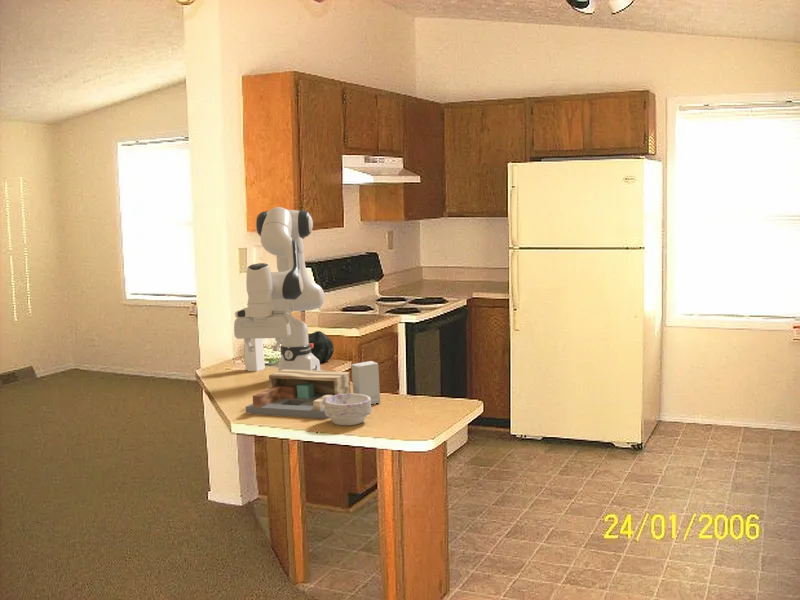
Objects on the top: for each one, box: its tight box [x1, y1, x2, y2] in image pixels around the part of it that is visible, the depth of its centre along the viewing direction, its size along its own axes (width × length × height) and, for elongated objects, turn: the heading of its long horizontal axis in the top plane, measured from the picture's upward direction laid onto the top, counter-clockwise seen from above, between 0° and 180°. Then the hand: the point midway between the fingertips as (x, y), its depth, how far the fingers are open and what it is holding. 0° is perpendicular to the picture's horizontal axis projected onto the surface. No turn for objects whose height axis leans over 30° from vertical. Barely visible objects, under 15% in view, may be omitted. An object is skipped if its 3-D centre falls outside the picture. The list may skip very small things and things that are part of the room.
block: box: [297, 383, 314, 399], centre depth 309 cm, size 4×4×4 cm
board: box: [245, 392, 335, 420], centre depth 304 cm, size 26×31×2 cm
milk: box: [243, 338, 266, 372], centre depth 375 cm, size 6×6×22 cm
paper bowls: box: [324, 393, 372, 426], centre depth 281 cm, size 15×15×8 cm
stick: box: [313, 395, 333, 410], centre depth 293 cm, size 10×2×3 cm, turn 159°
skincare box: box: [351, 360, 381, 405], centre depth 304 cm, size 8×6×15 cm
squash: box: [308, 330, 335, 363], centre depth 389 cm, size 14×15×15 cm
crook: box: [252, 386, 296, 408], centre depth 302 cm, size 16×8×4 cm, turn 159°
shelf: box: [268, 369, 352, 395], centre depth 311 cm, size 11×27×8 cm, turn 69°
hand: (263, 351), depth 295 cm, fingers open, 8 cm apart
